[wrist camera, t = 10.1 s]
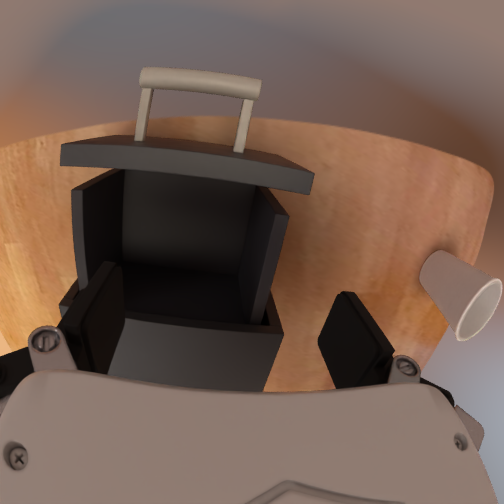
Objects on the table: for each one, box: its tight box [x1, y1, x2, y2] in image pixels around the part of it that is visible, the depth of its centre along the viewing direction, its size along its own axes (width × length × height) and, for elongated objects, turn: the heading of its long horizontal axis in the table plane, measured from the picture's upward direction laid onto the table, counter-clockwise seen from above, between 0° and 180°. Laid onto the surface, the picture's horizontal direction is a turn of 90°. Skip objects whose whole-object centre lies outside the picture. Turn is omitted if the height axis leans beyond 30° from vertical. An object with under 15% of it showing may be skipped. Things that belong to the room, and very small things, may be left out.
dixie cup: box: [419, 250, 502, 341], centre depth 25 cm, size 8×8×10 cm
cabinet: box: [59, 278, 284, 392], centre depth 22 cm, size 13×15×11 cm
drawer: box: [60, 67, 315, 325], centre depth 17 cm, size 16×13×9 cm
